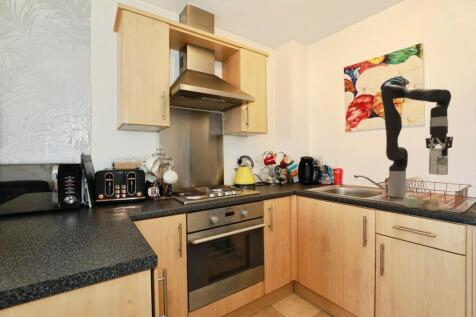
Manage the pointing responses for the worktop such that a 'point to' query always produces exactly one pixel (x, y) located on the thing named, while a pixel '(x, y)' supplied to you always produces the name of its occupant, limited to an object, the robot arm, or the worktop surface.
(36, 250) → the worktop surface
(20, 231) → the worktop surface
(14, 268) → the worktop surface
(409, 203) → the sage cube
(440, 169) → the syrup box
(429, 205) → the beech cube
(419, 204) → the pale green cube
